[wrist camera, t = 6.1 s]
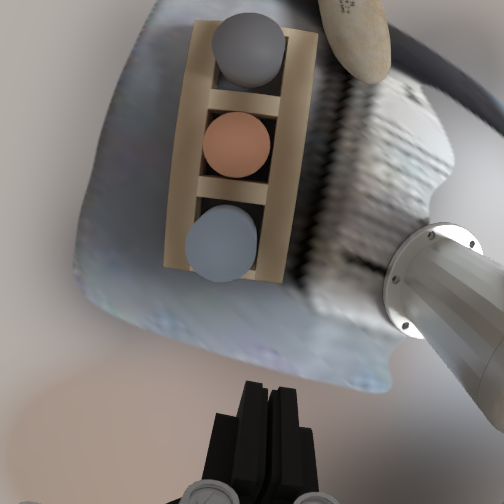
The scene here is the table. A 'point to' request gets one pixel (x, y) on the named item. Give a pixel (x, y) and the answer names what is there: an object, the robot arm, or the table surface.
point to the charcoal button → (249, 49)
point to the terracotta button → (236, 144)
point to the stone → (358, 37)
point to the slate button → (222, 244)
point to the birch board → (242, 190)
